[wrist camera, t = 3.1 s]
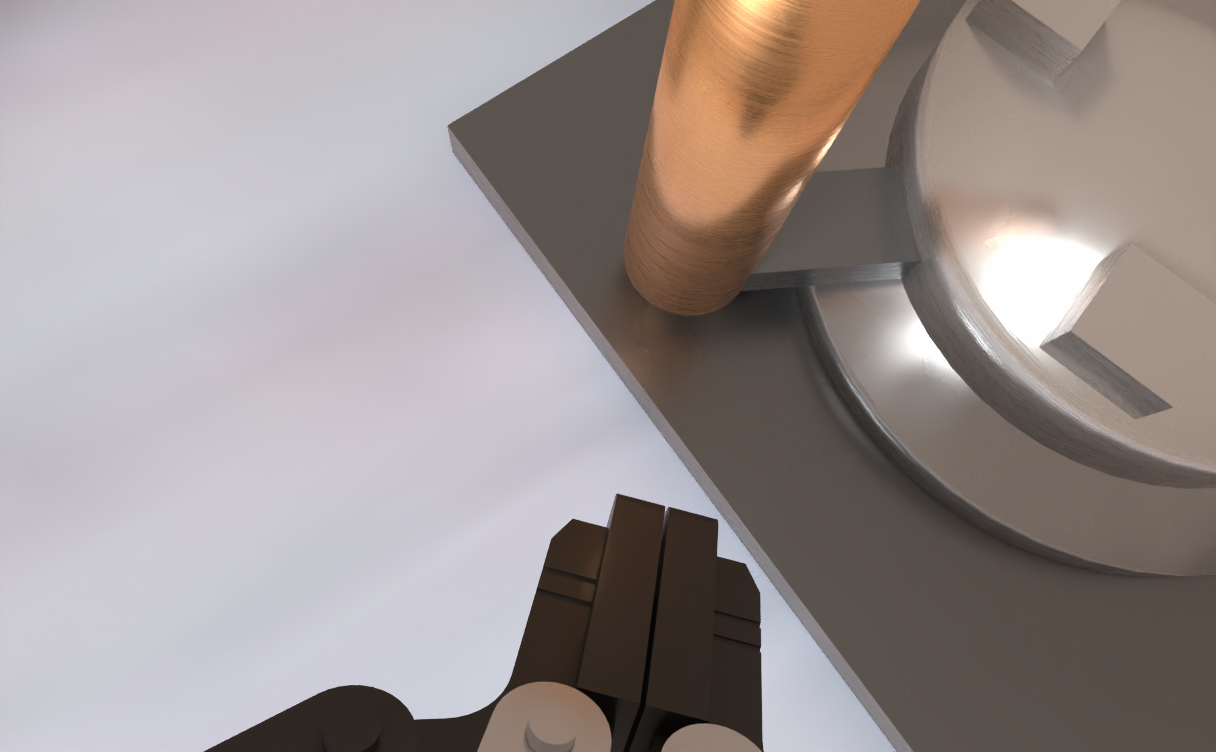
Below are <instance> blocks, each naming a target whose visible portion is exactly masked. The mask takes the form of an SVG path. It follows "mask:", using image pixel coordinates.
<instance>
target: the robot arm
mask: <svg viewBox="0 0 1216 752" xmlns="http://www.w3.org/2000/svg"><path fill="white" fill-rule="evenodd" d="M664 515H665V516H664ZM717 541H718V520H717V519H713V518H709V517H705V516H702V515H698V514H694V513H690V512H686V511H683V510H679V509H675V508H671V507H668V509H667V511H666V513H665V506H663V505H659V504H655V503H651V502H647V501H644V500H640V499H636V498H632V497H628V496H624V495H621V494H616V496H615V500H614V503H613V506H612V510H611V513H610V517H609V520H608V524H607V527H602V526H598V525H594V524H591V523H587V522H583V521H579V520H575V519H572V520H571V521H570V522H569V523H568V524H567V525H565V526H564V527H563V528H562V529H561V530H560V531H559V532H558V533H557V534H556V535H555V536H554V537H553V538H552V539H551V542H550V546H549V549H548V552H547V556H546V559H545V563H544V566H543V570H542V573H541V576H540V580H539V583H538V587H537V590H536V594H535V597H534V600H533V604H532V607H531V611H530V614H529V618H528V621H527V624H526V628H525V631H524V635H523V638H522V642H521V645H520V648H519V652H518V655H517V659H516V662H515V666H514V669H513V673H512V676H511V678H510V681H509V683H508V685H507V686H506V688H505V690H504V691H503V692H502V693H501V695H500V696H499V697H498V698H497V699H496V700H495V701H493V702H492V703H491V704H489V705H488V706H486V707H485V708H483V709H481V710H479V711H477V712H474V713H472V714H469V715H465V716H461V717H456V718H446V719H420V720H414V719H413V716H412V715H411V713H410V712H409V710H408V709H407V707H406V706H405V705H404V704H403V703H402V702H401V701H400V700H398V699H397V698H396V697H394V696H393V695H391V694H389V693H387V692H385V691H383V690H380V689H377V688H374V687H369V686H362V685H348V686H340V687H336V688H332V689H328V690H326V691H323V692H321V693H319V694H317V695H315V696H313V697H311V698H309V699H307V700H305V701H303V702H301V703H299V704H297V705H295V706H293V707H291V708H289V709H287V710H285V711H283V712H281V713H279V714H277V715H275V716H273V717H271V718H269V719H267V720H265V721H263V722H261V723H259V724H257V725H255V726H253V727H251V728H249V729H247V730H245V731H243V732H241V733H239V734H238V735H236V736H234V737H232V738H230V739H228V740H226V741H224V742H222V743H220V744H218V745H216V746H214V747H212V748H210V749H208V750H206V751H204V752H764V751H763V742H762V683H761V652H760V648H761V628H759V627H760V623H761V616H760V592H759V590H758V588H757V586H756V584H755V582H754V580H753V578H752V576H751V574H750V572H749V570H748V568H747V566H746V564H744V563H740V562H736V561H733V560H729V559H725V558H721V557H717Z"/></svg>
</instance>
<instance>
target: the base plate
mask: <svg viewBox="0 0 1216 752" xmlns="http://www.w3.org/2000/svg"><path fill="white" fill-rule="evenodd" d="M674 1H675V0H656V1H654V2H652V3H651V4H649V5H647V6H646V7H644V8H642V9H641V10H639V11H637V12H636V13H634V14H632V15H631V16H629V17H627V18H626V19H624V20H622V21H621V22H619V23H617V24H616V25H614V26H612V27H611V28H609V29H607V30H606V31H604V32H602V33H601V34H599V35H597V36H596V37H594V38H592V39H591V40H589V41H587V42H586V43H584V44H582V45H581V46H579V47H577V48H576V49H574V50H572V51H571V52H569V53H567V54H566V55H564V56H562V57H561V58H559V59H557V60H556V61H554V62H552V63H551V64H549V65H547V66H546V67H544V68H542V69H541V70H539V71H537V72H536V73H534V74H532V75H531V76H529V77H527V78H526V79H524V80H522V81H521V82H519V83H517V84H516V85H514V86H512V87H511V88H509V89H507V90H506V91H504V92H502V93H501V94H499V95H497V96H496V97H494V98H492V99H491V100H489V101H488V102H486V103H484V104H483V105H481V106H479V107H478V108H476V109H474V110H473V111H471V112H469V113H468V114H466V115H464V116H463V117H461V118H459V119H458V120H456V121H454V122H453V123H451V124H449V125H448V131H449V136H450V140H451V145H452V150H453V153H454V154H455V156H456V157H457V158H458V160H459V161H460V162H461V164H462V165H463V166H464V168H465V169H466V170H467V172H468V173H469V175H470V176H471V177H472V179H473V180H474V181H475V183H476V184H477V185H478V187H479V188H480V189H481V191H482V192H483V193H484V195H485V196H486V197H487V199H488V200H489V202H490V203H491V204H492V206H493V207H494V208H495V210H496V211H497V212H498V214H499V215H500V216H501V218H502V219H503V220H504V222H505V223H506V224H507V226H508V227H509V228H510V230H511V231H512V233H513V234H514V235H515V237H516V238H517V239H518V241H519V242H520V243H521V245H522V246H523V247H524V249H525V250H526V251H527V253H528V254H529V255H530V257H531V258H532V260H533V261H534V262H535V264H536V265H537V266H538V268H539V269H540V270H541V272H542V273H543V274H544V276H545V277H546V278H547V280H548V281H549V282H550V284H551V285H552V287H553V288H554V289H555V291H556V292H557V293H558V295H559V296H560V297H561V299H562V300H563V301H564V303H565V304H566V305H567V307H568V308H569V309H570V311H571V312H572V314H573V315H574V316H575V318H576V319H577V320H578V322H579V323H580V324H581V326H582V327H583V328H584V330H585V331H586V332H587V334H588V335H589V336H590V338H591V339H592V340H593V342H594V343H595V345H596V346H597V347H598V349H599V350H600V351H601V353H602V354H603V355H604V357H605V358H606V359H607V361H608V362H609V363H610V365H611V366H612V367H613V369H614V370H615V372H616V373H617V374H618V376H619V377H620V378H621V380H622V381H623V382H624V384H625V385H626V386H627V388H628V389H629V390H630V392H631V393H632V394H633V396H634V397H635V399H636V400H637V401H638V403H639V404H640V405H641V407H642V408H643V409H644V411H645V412H646V413H647V415H648V416H649V417H650V419H651V420H652V421H653V423H654V424H655V426H656V427H657V428H658V430H659V431H660V432H661V434H662V435H663V436H664V438H665V439H666V440H667V442H668V443H669V444H670V446H671V447H672V448H673V450H674V451H675V452H676V454H677V455H678V457H679V458H680V459H681V461H682V462H683V463H684V465H685V466H686V467H687V469H688V470H689V471H690V473H691V474H692V475H693V477H694V478H695V479H696V481H697V482H698V484H699V485H700V486H701V488H702V489H703V490H704V492H705V493H706V494H707V496H708V497H709V498H710V500H711V501H712V502H713V504H714V505H715V506H716V508H717V509H718V511H719V512H720V513H721V515H722V516H723V517H724V519H725V520H726V521H727V523H728V524H729V525H730V527H731V528H732V529H733V531H734V532H735V533H736V535H737V536H738V538H739V539H740V540H741V542H742V543H743V544H744V546H745V547H746V548H747V550H748V551H749V552H750V554H751V555H752V556H753V558H754V559H755V560H756V562H757V563H758V564H759V566H760V567H761V569H762V570H763V571H764V573H765V574H766V575H767V577H768V578H769V579H770V581H771V582H772V583H773V585H774V586H775V587H776V589H777V590H778V591H779V593H780V594H781V596H782V597H783V598H784V600H785V601H786V602H787V604H788V605H789V606H790V608H791V609H792V610H793V612H794V613H795V614H796V616H797V617H798V618H799V620H800V621H801V623H802V624H803V625H804V627H805V628H806V629H807V631H808V632H809V633H810V635H811V636H812V637H813V639H814V640H815V641H816V643H817V644H818V645H819V647H820V648H821V650H822V651H823V652H824V654H825V655H826V656H827V658H828V659H829V660H830V662H831V663H832V664H833V666H834V667H835V668H836V670H837V671H838V672H839V674H840V675H841V676H842V678H843V679H844V681H845V682H846V683H847V685H848V686H849V687H850V689H851V690H852V691H853V693H854V694H855V695H856V697H857V698H858V699H859V701H860V702H861V703H862V705H863V706H864V708H865V709H866V710H867V712H868V713H869V714H870V716H871V717H872V718H873V720H874V721H875V722H876V724H877V725H878V726H879V728H880V729H881V730H882V732H883V733H884V735H885V736H886V737H887V739H888V740H889V741H890V743H891V744H892V745H893V747H894V748H895V749H896V751H897V752H1216V488H1203V489H1184V488H1174V487H1164V486H1154V485H1148V484H1144V483H1140V482H1135V481H1131V480H1127V479H1123V478H1118V477H1114V476H1111V475H1108V474H1106V473H1103V472H1100V471H1098V470H1095V469H1092V468H1090V467H1087V466H1084V465H1082V464H1079V463H1076V462H1074V461H1072V460H1070V459H1068V458H1066V457H1065V456H1063V455H1061V454H1059V453H1057V452H1055V451H1053V450H1051V449H1049V448H1047V447H1045V446H1043V445H1041V444H1040V443H1038V442H1037V441H1035V440H1034V439H1032V438H1031V437H1029V436H1028V435H1026V434H1025V433H1023V432H1022V431H1020V430H1019V429H1018V428H1016V427H1015V426H1013V425H1012V424H1010V423H1009V422H1007V421H1006V420H1005V419H1004V418H1003V417H1002V416H1000V415H999V414H998V413H997V412H996V411H995V410H993V409H992V408H991V407H990V406H989V405H988V404H986V403H985V402H984V401H983V400H982V399H981V398H979V397H978V396H977V395H976V394H975V392H974V391H973V390H972V389H971V388H970V387H969V386H968V385H967V384H966V383H965V382H964V380H963V379H962V378H961V377H960V376H959V375H958V374H957V373H956V372H955V371H954V370H953V369H952V367H951V366H950V365H949V363H948V362H947V361H946V359H945V358H944V356H943V355H942V354H941V352H940V351H939V349H938V348H937V347H936V345H935V344H934V343H933V341H932V340H931V338H930V337H929V336H928V334H927V332H926V330H925V328H924V326H923V325H922V323H921V321H920V319H919V317H918V316H917V314H916V312H915V310H914V308H913V307H912V305H911V303H910V300H909V298H908V295H907V293H906V291H905V288H904V286H903V283H902V281H901V278H900V279H888V280H875V281H863V282H850V283H838V284H825V285H813V286H800V287H788V288H775V289H763V290H750V291H741V292H740V293H739V295H738V296H737V297H736V298H735V299H734V300H733V301H731V302H730V303H729V304H728V305H726V306H724V307H723V308H721V309H719V310H717V311H714V312H712V313H708V314H705V315H698V316H684V315H677V314H673V313H669V312H667V311H664V310H662V309H660V308H658V307H656V306H654V305H653V304H651V303H650V302H648V301H647V300H646V299H645V298H644V297H643V296H642V295H641V294H640V293H639V292H638V291H637V290H636V288H635V287H634V285H633V284H632V282H631V280H630V278H629V276H628V274H627V271H626V268H625V263H624V255H623V249H624V241H625V236H626V231H627V227H628V222H629V217H630V212H631V207H632V203H633V198H634V193H635V188H636V183H637V179H638V174H639V169H640V164H641V159H642V155H643V150H644V145H645V140H646V135H647V131H648V126H649V121H650V116H651V111H652V107H653V102H654V97H655V92H656V87H657V83H658V78H659V73H660V68H661V63H662V59H663V54H664V49H665V44H666V39H667V35H668V30H669V25H670V20H671V15H672V11H673V6H674ZM966 1H967V0H920V2H919V4H918V5H917V7H916V9H915V10H914V12H913V13H912V15H911V17H910V18H909V20H908V22H907V23H906V25H905V26H904V28H903V30H902V31H901V33H900V35H899V36H898V38H897V39H896V41H895V43H894V44H893V46H892V48H891V49H890V51H889V52H888V54H887V56H886V57H885V59H884V61H883V62H882V64H881V65H880V67H879V69H878V70H877V72H876V74H875V75H874V77H873V78H872V80H871V82H870V83H869V85H868V87H867V88H866V90H865V91H864V93H863V95H862V96H861V98H860V99H859V101H858V103H857V104H856V106H855V108H854V109H853V111H852V112H851V114H850V116H849V117H848V119H847V121H846V122H845V124H844V125H843V127H842V129H841V130H840V132H839V134H838V135H837V137H836V138H835V140H834V142H833V143H832V145H831V147H830V148H829V150H828V151H827V153H826V155H825V156H824V158H823V160H822V161H821V163H820V164H819V166H818V168H817V169H816V171H815V172H822V171H837V170H851V169H866V168H880V167H885V161H886V155H887V149H888V143H889V137H890V133H891V130H892V127H893V124H894V121H895V117H896V114H897V111H898V108H899V105H900V103H901V101H902V99H903V97H904V95H905V93H906V91H907V89H908V87H909V85H910V83H911V81H912V79H913V77H914V76H915V75H916V73H917V72H918V70H919V69H920V67H921V66H922V65H923V63H924V62H925V60H926V59H927V57H928V56H929V54H930V53H931V52H932V50H933V49H934V47H935V46H936V44H937V43H938V41H939V40H940V39H941V37H942V36H943V34H944V33H945V31H946V30H947V28H948V27H949V26H950V24H951V23H952V21H953V20H954V18H955V17H956V15H957V14H958V13H959V11H960V10H961V8H962V7H963V5H964V4H965V3H966Z"/></svg>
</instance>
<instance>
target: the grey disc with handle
mask: <svg viewBox="0 0 1216 752" xmlns="http://www.w3.org/2000/svg"><path fill="white" fill-rule="evenodd" d="M919 2H920V0H675V1H674V6H673V11H672V15H671V20H670V25H669V30H668V35H667V39H666V44H665V49H664V54H663V59H662V63H661V68H660V73H659V78H658V83H657V87H656V92H655V97H654V102H653V107H652V111H651V116H650V121H649V126H648V131H647V135H646V140H645V145H644V150H643V155H642V159H641V164H640V169H639V174H638V179H637V183H636V188H635V193H634V198H633V203H632V207H631V212H630V217H629V222H628V227H627V231H626V236H625V241H624V249H623V255H624V263H625V268H626V271H627V274H628V276H629V278H630V280H631V282H632V284H633V285H634V287H635V288H636V290H637V291H638V292H639V293H640V294H641V295H642V296H643V297H644V298H645V299H646V300H647V301H648V302H650V303H651V304H653V305H654V306H656V307H658V308H660V309H662V310H664V311H667V312H669V313H673V314H677V315H684V316H698V315H705V314H708V313H712V312H714V311H717V310H719V309H721V308H723V307H724V306H726V305H728V304H729V303H730V302H731V301H733V300H734V299H735V298H736V297H737V296H738V295H739V293H740V292H741V291H750V290H763V289H775V288H788V287H800V286H813V285H825V284H838V283H850V282H863V281H875V280H888V279H900V278H901V281H902V283H903V286H904V288H905V291H906V293H907V295H908V298H909V300H910V303H911V305H912V307H913V308H914V310H915V312H916V314H917V316H918V317H919V319H920V321H921V323H922V325H923V326H924V328H925V330H926V332H927V334H928V336H929V337H930V338H931V340H932V341H933V343H934V344H935V345H936V347H937V348H938V349H939V351H940V352H941V354H942V355H943V356H944V358H945V359H946V361H947V362H948V363H949V365H950V366H951V367H952V369H953V370H954V371H955V372H956V373H957V374H958V375H959V376H960V377H961V378H962V379H963V380H964V382H965V383H966V384H967V385H968V386H969V387H970V388H971V389H972V390H973V391H974V392H975V394H976V395H977V396H978V397H979V398H981V399H982V400H983V401H984V402H985V403H986V404H988V405H989V406H990V407H991V408H992V409H993V410H995V411H996V412H997V413H998V414H999V415H1000V416H1002V417H1003V418H1004V419H1005V420H1006V421H1007V422H1009V423H1010V424H1012V425H1013V426H1015V427H1016V428H1018V429H1019V430H1020V431H1022V432H1023V433H1025V434H1026V435H1028V436H1029V437H1031V438H1032V439H1034V440H1035V441H1037V442H1038V443H1040V444H1041V445H1043V446H1045V447H1047V448H1049V449H1051V450H1053V451H1055V452H1057V453H1059V454H1061V455H1063V456H1065V457H1066V458H1068V459H1070V460H1072V461H1074V462H1076V463H1079V464H1082V465H1084V466H1087V467H1090V468H1092V469H1095V470H1098V471H1100V472H1103V473H1106V474H1108V475H1111V476H1114V477H1118V478H1123V479H1127V480H1131V481H1135V482H1140V483H1144V484H1148V485H1154V486H1164V487H1174V488H1184V489H1203V488H1216V0H967V1H966V3H965V4H964V5H963V7H962V8H961V10H960V11H959V13H958V14H957V15H956V17H955V18H954V20H953V21H952V23H951V24H950V26H949V27H948V28H947V30H946V31H945V33H944V34H943V36H942V37H941V39H940V40H939V41H938V43H937V44H936V46H935V47H934V49H933V50H932V52H931V53H930V54H929V56H928V57H927V59H926V60H925V62H924V63H923V65H922V66H921V67H920V69H919V70H918V72H917V73H916V75H915V76H914V77H913V79H912V81H911V83H910V85H909V87H908V89H907V91H906V93H905V95H904V97H903V99H902V101H901V103H900V105H899V108H898V111H897V114H896V117H895V121H894V124H893V127H892V130H891V133H890V137H889V143H888V149H887V155H886V161H885V167H880V168H866V169H851V170H837V171H822V172H815V171H816V169H817V168H818V166H819V164H820V163H821V161H822V160H823V158H824V156H825V155H826V153H827V151H828V150H829V148H830V147H831V145H832V143H833V142H834V140H835V138H836V137H837V135H838V134H839V132H840V130H841V129H842V127H843V125H844V124H845V122H846V121H847V119H848V117H849V116H850V114H851V112H852V111H853V109H854V108H855V106H856V104H857V103H858V101H859V99H860V98H861V96H862V95H863V93H864V91H865V90H866V88H867V87H868V85H869V83H870V82H871V80H872V78H873V77H874V75H875V74H876V72H877V70H878V69H879V67H880V65H881V64H882V62H883V61H884V59H885V57H886V56H887V54H888V52H889V51H890V49H891V48H892V46H893V44H894V43H895V41H896V39H897V38H898V36H899V35H900V33H901V31H902V30H903V28H904V26H905V25H906V23H907V22H908V20H909V18H910V17H911V15H912V13H913V12H914V10H915V9H916V7H917V5H918V4H919Z"/></svg>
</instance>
